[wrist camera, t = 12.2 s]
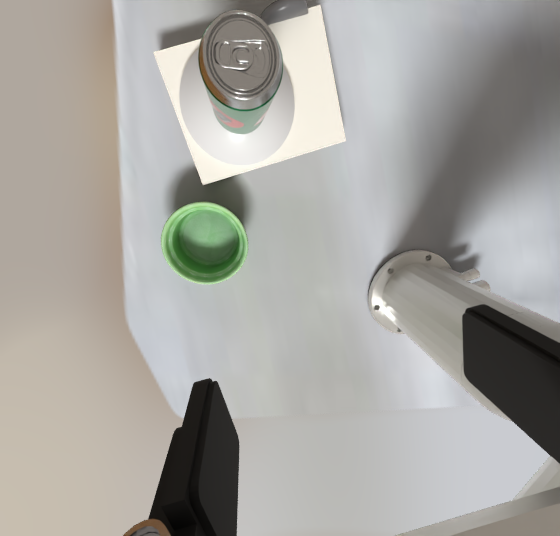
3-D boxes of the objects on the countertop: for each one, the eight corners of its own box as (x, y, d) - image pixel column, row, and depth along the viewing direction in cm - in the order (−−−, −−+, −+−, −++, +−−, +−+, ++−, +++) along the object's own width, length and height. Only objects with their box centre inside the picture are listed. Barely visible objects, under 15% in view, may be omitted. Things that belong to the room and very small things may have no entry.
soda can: (263, 137, 28) (282, 112, 17) (212, 132, 27) (196, 101, 16) (267, 80, 27) (289, 9, 15) (212, 72, 26) (194, -9, 14)
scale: (311, 11, 28) (325, -19, 24) (337, 143, 32) (353, 138, 28) (157, 55, 27) (143, 33, 23) (205, 184, 32) (200, 185, 27)
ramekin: (182, 186, 31) (174, 188, 27) (257, 214, 34) (260, 220, 30) (161, 258, 34) (150, 270, 29) (232, 280, 36) (232, 294, 32)
